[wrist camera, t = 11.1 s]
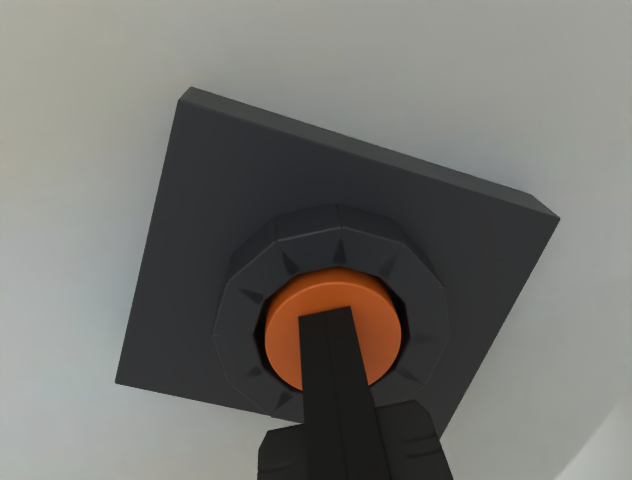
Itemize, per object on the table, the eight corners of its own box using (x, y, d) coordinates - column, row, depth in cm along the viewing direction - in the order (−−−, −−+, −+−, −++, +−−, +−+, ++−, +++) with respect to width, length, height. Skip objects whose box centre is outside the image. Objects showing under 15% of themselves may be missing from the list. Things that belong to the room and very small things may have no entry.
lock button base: (531, 194, 19) (592, 242, 15) (420, 410, 23) (447, 490, 19) (190, 86, 17) (165, 112, 13) (130, 345, 20) (97, 422, 17)
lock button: (409, 273, 17) (423, 302, 15) (365, 372, 18) (373, 408, 17) (287, 239, 16) (288, 266, 15) (251, 346, 18) (248, 380, 16)
